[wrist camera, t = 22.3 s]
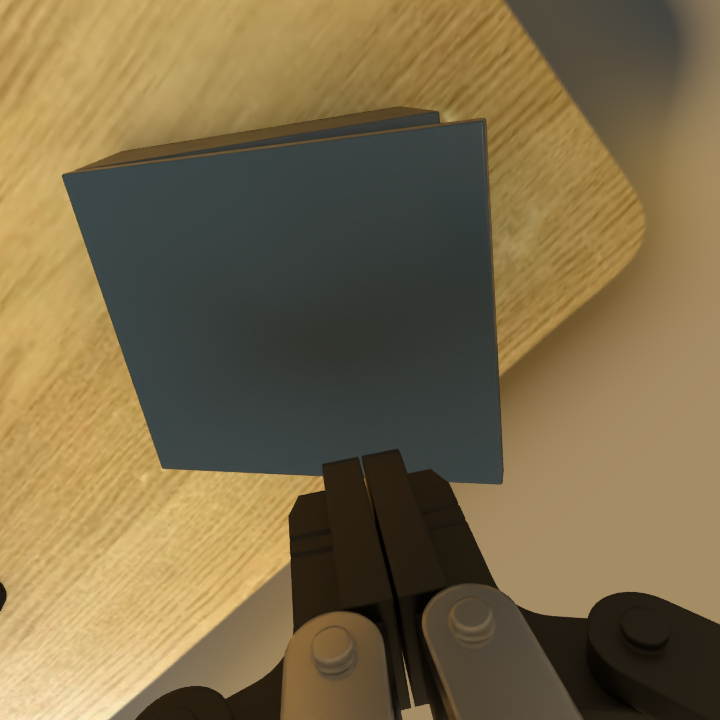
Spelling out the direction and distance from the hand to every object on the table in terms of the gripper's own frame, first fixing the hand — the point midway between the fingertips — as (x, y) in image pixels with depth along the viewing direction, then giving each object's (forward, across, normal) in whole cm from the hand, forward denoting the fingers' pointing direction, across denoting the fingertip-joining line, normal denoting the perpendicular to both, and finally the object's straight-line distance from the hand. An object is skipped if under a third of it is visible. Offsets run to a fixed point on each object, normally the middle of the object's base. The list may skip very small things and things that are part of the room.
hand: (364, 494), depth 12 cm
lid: (+10, +1, 0) cm, 10 cm away
